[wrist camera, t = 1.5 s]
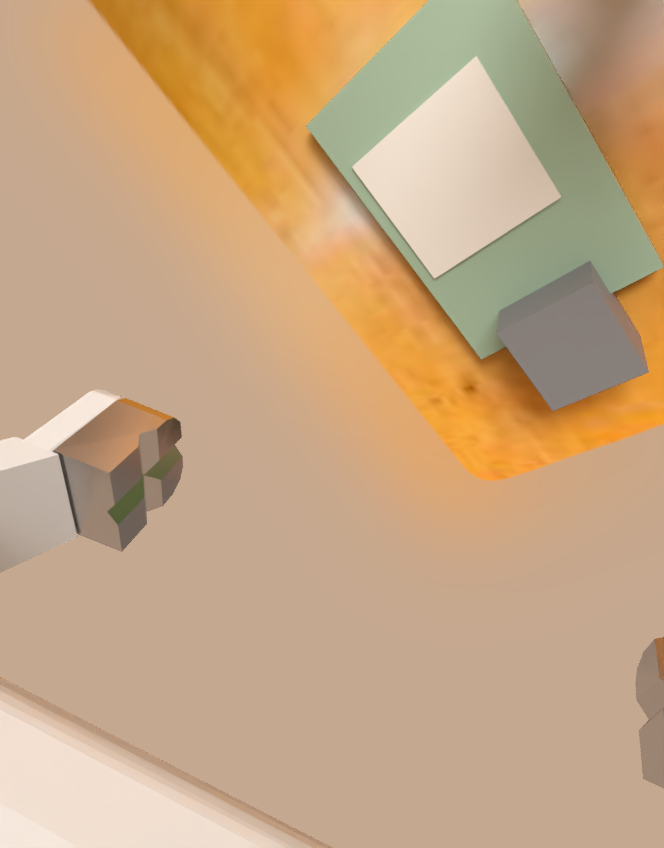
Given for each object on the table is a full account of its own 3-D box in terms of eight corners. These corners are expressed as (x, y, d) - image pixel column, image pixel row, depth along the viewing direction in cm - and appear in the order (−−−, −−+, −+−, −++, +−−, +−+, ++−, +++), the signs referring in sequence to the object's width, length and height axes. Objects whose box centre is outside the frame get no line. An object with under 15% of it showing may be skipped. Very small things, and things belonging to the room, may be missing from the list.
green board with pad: (312, 121, 39) (288, 138, 35) (486, -56, 30) (477, -58, 27) (514, 392, 48) (511, 427, 44) (691, 313, 39) (705, 349, 36)
